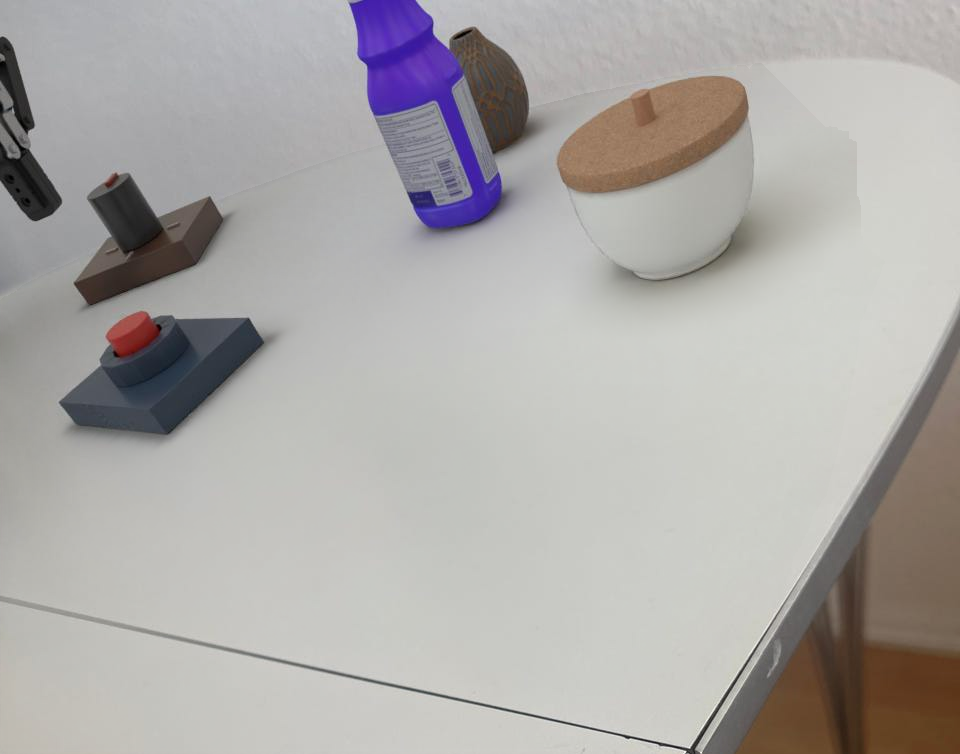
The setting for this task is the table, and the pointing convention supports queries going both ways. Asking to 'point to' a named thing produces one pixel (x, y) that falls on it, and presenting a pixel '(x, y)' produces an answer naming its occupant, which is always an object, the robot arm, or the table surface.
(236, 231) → the table surface
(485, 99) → the vase
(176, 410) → the button box
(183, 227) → the panel
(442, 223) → the bottle
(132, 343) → the button
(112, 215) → the dial knob
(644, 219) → the trinket box
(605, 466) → the table surface
